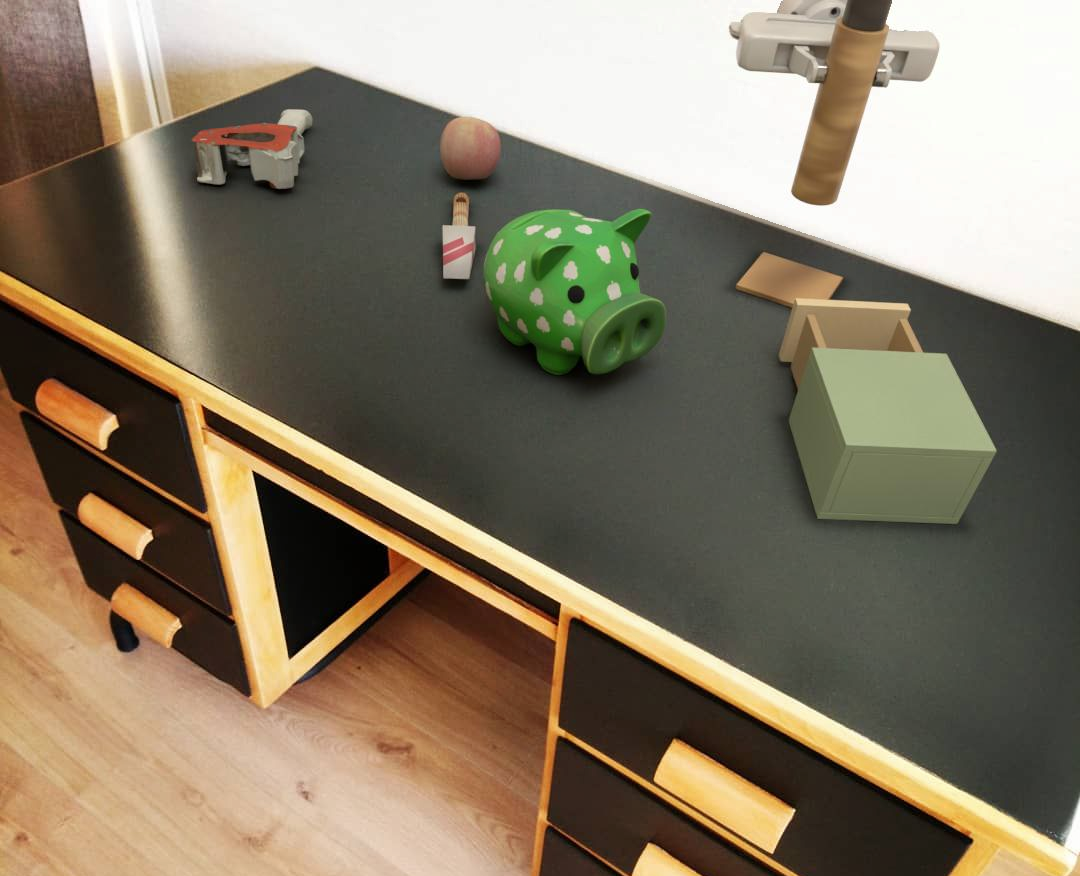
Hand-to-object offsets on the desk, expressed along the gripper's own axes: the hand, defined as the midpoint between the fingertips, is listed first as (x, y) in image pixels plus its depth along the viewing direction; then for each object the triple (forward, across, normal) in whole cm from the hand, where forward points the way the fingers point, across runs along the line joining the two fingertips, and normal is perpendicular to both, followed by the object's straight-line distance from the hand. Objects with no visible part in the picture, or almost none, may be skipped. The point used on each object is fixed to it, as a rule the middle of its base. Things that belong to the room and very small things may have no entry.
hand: (851, 77), depth 92 cm
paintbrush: (-6, -39, +24) cm, 46 cm away
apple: (-23, -38, +24) cm, 50 cm away
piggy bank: (+14, -27, +24) cm, 38 cm away
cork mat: (-1, 0, +24) cm, 24 cm away
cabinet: (+31, +1, +23) cm, 39 cm away
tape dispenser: (-24, -64, +24) cm, 72 cm away
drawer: (+20, +1, +23) cm, 30 cm away
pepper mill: (-1, 0, +12) cm, 13 cm away
